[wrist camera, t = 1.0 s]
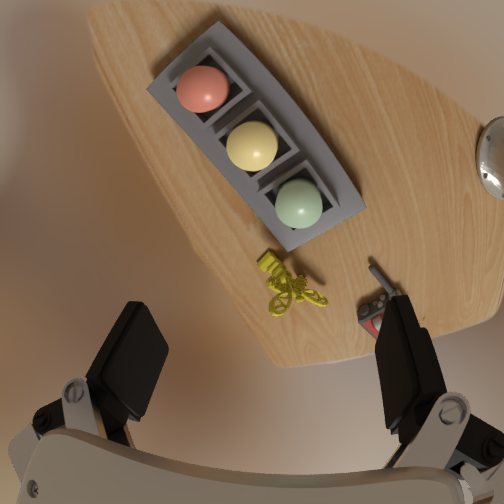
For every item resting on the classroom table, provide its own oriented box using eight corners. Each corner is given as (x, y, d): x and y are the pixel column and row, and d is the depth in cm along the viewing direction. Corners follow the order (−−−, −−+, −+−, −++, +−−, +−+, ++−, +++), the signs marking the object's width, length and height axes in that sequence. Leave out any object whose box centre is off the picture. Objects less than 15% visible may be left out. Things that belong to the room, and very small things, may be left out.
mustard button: (258, 111, 26) (254, 113, 24) (288, 147, 28) (286, 152, 26) (223, 139, 28) (216, 143, 26) (251, 172, 30) (247, 180, 28)
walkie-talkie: (422, 321, 44) (374, 256, 39) (428, 339, 41) (380, 275, 35) (385, 342, 49) (329, 286, 43) (388, 359, 45) (330, 305, 40)
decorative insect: (301, 251, 46) (332, 301, 41) (289, 263, 48) (318, 312, 43) (243, 247, 37) (277, 313, 32) (231, 262, 39) (262, 325, 34)
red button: (210, 58, 23) (202, 56, 21) (240, 90, 25) (234, 90, 23) (177, 88, 25) (167, 89, 23) (205, 119, 27) (197, 122, 25)
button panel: (225, 25, 24) (213, 16, 20) (362, 198, 34) (370, 214, 30) (157, 87, 30) (137, 90, 25) (289, 240, 39) (286, 260, 35)
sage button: (304, 169, 29) (304, 176, 27) (329, 204, 30) (331, 214, 28) (268, 193, 31) (265, 201, 29) (294, 225, 33) (293, 236, 31)
